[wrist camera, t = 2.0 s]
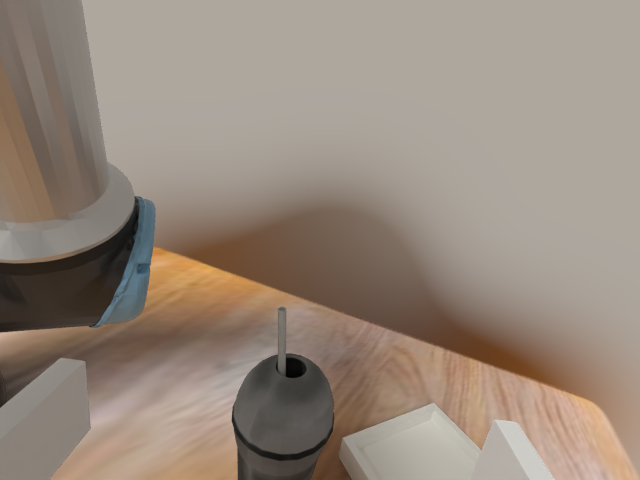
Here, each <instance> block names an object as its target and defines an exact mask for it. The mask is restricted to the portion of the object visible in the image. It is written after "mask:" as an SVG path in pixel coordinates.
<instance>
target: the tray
mask: <svg viewBox="0 0 640 480" xmlns="http://www.w3.org/2000/svg"><path fill="white" fill-rule="evenodd" d="M480 453H481V449H480V448H479V447H478V446H477V445H476V444H475V443H474V442H473V441H472V440H471V439H470V438H469V437H468V436H467V435H466V434H465V433H464V432H463V431H462V430H461V429H460V428H459V427H458V426H457V425H456V424H455V423H454V422H453V421H452V420H451V419H450V418H449V417H448V416H447V415H446V414H445V413H444V412H443V411H442V410H441V409H440V408H439V407H438V406H437V405H436V404H435V403H432V404H429V405H426V406H424V407H421V408H419V409H416V410H413V411H411V412H408V413H406V414H403V415H400V416H398V417H395V418H393V419H390V420H387V421H385V422H382V423H380V424H377V425H375V426H372V427H369V428H367V429H364V430H362V431H359V432H356V433H354V434H351V435H349V436H346V437H343V438H342V442H341V446H340V451H339V455H338V457H339V458H340V460H341V462H342V464H343V465H344V467H345V469H346V470H347V472H348V474H349V476H350V477H351V479H352V480H470V478H471V475H472V473H473V470H474V468H475V465H476V463H477V460H478V458H479V455H480Z"/></svg>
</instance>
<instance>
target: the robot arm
mask: <svg viewBox="0 0 640 480" xmlns="http://www.w3.org/2000/svg"><path fill="white" fill-rule="evenodd" d="M154 230H155V206H154V203H153V202H151V201H150V200H146V199H143V198H141V197H137V196H134V192H133V189H132V185H131V183H130V182H129V180H128V178H127V177H126V176H125V175H124V174H123V173H122V172H121V171H120V170H119V169H118V168H116V167H115V166H113V165H112V164H110V163H109V162H107V159H106V153H105V147H104V141H103V135H102V128H101V122H100V115H99V109H98V102H97V97H96V90H95V83H94V77H93V71H92V64H91V58H90V52H89V45H88V39H87V32H86V26H85V20H84V13H83V7H82V1H81V0H0V332H13V331H26V330H39V329H52V328H65V327H78V326H89V327H92V328H96V327H100V326H102V325H104V324H112V323H120V322H127V321H130V320H133V319H134V318H136V317H137V316H138V315H139V314H140V313H141V312H142V310H143V308H144V305H145V301H146V296H147V290H148V284H149V276H150V265H151V257H152V252H153V242H154ZM90 429H91V426H90V414H89V401H88V389H87V376H86V364H85V361H81V360H74V359H67V358H59V359H58V360H57V361H56V362H55V363H53V364H52V365H51V366H50V367H49V368H47V369H46V370H45V371H44V372H43V373H41V374H40V375H39V376H38V377H37V378H35V379H34V380H33V381H32V382H31V383H29V384H28V385H27V386H26V387H25V388H23V389H22V390H21V391H20V392H19V393H17V394H16V395H15V396H14V397H13V398H11V399H10V400H9V401H8V402H7V403H6V391H5V385H4V380H3V376H2V374H1V372H0V480H49V479H50V478H51V477H52V476H53V474H54V473H55V472H56V471H57V469H58V468H59V467H60V466H61V465H62V463H63V462H64V461H65V460H66V458H67V457H68V456H69V455H70V453H71V452H72V451H73V450H74V448H75V447H76V446H77V445H78V443H79V442H80V441H81V440H82V439H83V437H84V436H85V435H86V434H87V432H88V431H89V430H90ZM470 480H555V479H554V477H553V476H552V474H551V473H550V471H549V470H548V468H547V467H546V465H545V464H544V462H543V461H542V459H541V458H540V456H539V455H538V453H537V452H536V450H535V448H534V447H533V445H532V444H531V442H530V441H529V439H528V438H527V436H526V435H525V433H524V432H523V430H522V429H521V427H520V426H519V424H518V423H517V422H511V421H504V420H497V419H494V421H493V423H492V426H491V428H490V431H489V433H488V436H487V438H486V441H485V443H484V445H483V448H482V450H481V453H480V455H479V458H478V460H477V463H476V465H475V468H474V470H473V473H472V475H471V478H470Z"/></svg>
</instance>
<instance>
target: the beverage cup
mask: <svg viewBox="0 0 640 480" xmlns="http://www.w3.org/2000/svg"><path fill="white" fill-rule="evenodd" d="M333 409H334V401H333V396H332V392H331V389H330V385H329V382H328V380H327V378H326V377H325V375H324V374H323V372H322V371H321V370H320V368H319V367H318V366H317V365H315V364H314V363H313V362H312V361H310V360H309V359H307V358H305V357H303V356H301V355H296V354H286V308H285V307H280V308H279V309H278V355H274V356H271V357H269V358H267V359H265V360H263V361H262V362H260V363H259V364H258V365H257V366H256V367H254V368H253V369H252V370H251V371H250V372H249V373H248V375H247V376H246V378H245V380H244V382H243V384H242V386H241V387H240V389H239V392H238V394H237V398H236V401H235V403H234V405H233V411H232V423H233V426H234V433H235V439H236V443H237V446H238V480H311V477H312V474H313V471H314V468H315V465H316V462H317V459H318V457H319V455H320V453H321V451H322V449H323V447H324V445H325V444H326V442H327V441H328V439H329V437H330V435H331V433H332V431H333V424H334V412H333Z"/></svg>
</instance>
